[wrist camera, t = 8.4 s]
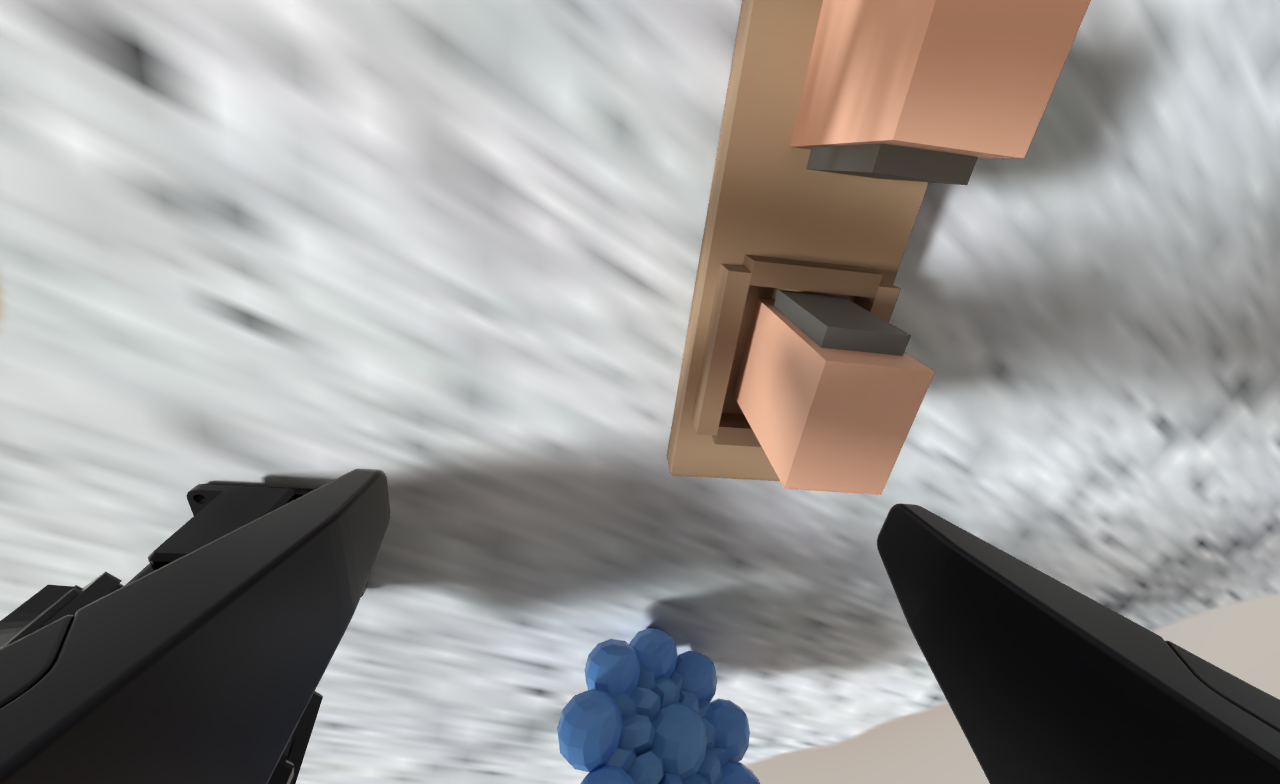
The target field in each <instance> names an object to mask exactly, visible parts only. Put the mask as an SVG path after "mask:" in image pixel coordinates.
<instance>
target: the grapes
mask: <svg viewBox="0 0 1280 784" xmlns="http://www.w3.org/2000/svg"><path fill="white" fill-rule="evenodd" d="M585 676H586V683H587V687H588V691H585V692H583V693H580V694H578V695H575V696H574V697H573V698H572V699H571V700H570V702H569V703H568V704H567V705H566V706H565V708H564V709H563V710H562V713H561V717H560V720H559V724H558V727H557V730H558V738H559V747H560V753H561V754H562V755H563V756H564V758H565V759H566V760H567V761H568V762H569V763H570V764H571V765H572V766H573V767H574V769H577V770H582V771H587V772H590V773H589V774H588V775H587V776H586V777H585V778H584V780H583V781H582V783H581V784H760V782H759V780H758V779H757V777H756V776H755V775H754V774H753V772H752V771H751V770H750V769H748V768H747V767H746V766H744V765H743V764H742V763H739V762H738V761H740V760H742V758H743V756H744V754H745V752H746V750H747V748H748V743H749V734H750V731H749V724H748V719H747V716H746V714H745V712H744V711H743V710H742V709H741V708H740V707H739V706H737V705H736V704H734V703H733V702H731V701H730V700H724V699H717V700H714V701H712V702H710V701H711V699H712V698H713V696H714V695H715V691H716V684H717V676H716V669H715V666H714V663H713V662H712V661H711V660H710V659H709V658H708V657H706V656H705V655H703V654H701V653H699V652H693V651H688V652H685V653H683V654H680V655H678V657H677V649H676V644H675V642H674V640H673V638H672V637H671V636H670V635H669V634H667V633H665V632H664V631H662V630H660V629H653V628H648V629H645V630H643V631H640V632H638V633H637V634H636V636H635V637H634V638H633V639H632V641H631V642H630V644H628V643H627V642H625V641H620V640H614V639H610V640H607V641H604V642H602V643H599V644H598V645H597V646H596V647H595V648H594V649H593V651H592V652H591V653H590V654H589V656H588V660H587V663H586V667H585Z"/></svg>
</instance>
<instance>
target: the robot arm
mask: <svg viewBox="0 0 1280 784" xmlns="http://www.w3.org/2000/svg"><path fill="white" fill-rule="evenodd" d="M187 499H188V502H189V505H190V507H191V510H192V512H193V515H194V517H193V518H191V519H190V520H189V521H188V522H187V523H186V524H185V525H183V526H182V527H181V528H180V529H179V530H178V531H177V532H175V533H174V534H173V535H172V536H171V537H170V538H168V539H167V540H166V541H165V542H164V543H163V544H162V545H160V546H159V547H158V548H157V549H156V550H155V551H154V552H152V553H151V554H150V556H149V557H148V560H149V562H150V564H149V565H148V566H146V567H145V568H144V569H143V570H142V571H141V572H140V573H139V574H137V575H136V576H135V577H134V578H133V579H132V580H131V581H129V582H128V583H127V584H126V585H125V586H123V585H121V584H120V582H121V580H120V579H118V578H116V577H114V576H113V575H111V574H109V573H107V572H105V573H103V574H102V575H100V576H99V577H98V578H96V579H95V580H94V581H92V582H91V583H90V584H88V585H87V586H85V587H84V588H81V587H79V586H77V585H76V586H74V587H70V586H57V585H47V586H46V587H44V588H43V589H42V590H40V591H39V592H38V593H36V594H35V595H34V596H33V597H31V598H30V599H29V600H27V601H26V602H25V603H23V604H22V605H21V606H19V607H18V608H17V609H16V610H14V611H13V612H12V613H10V614H9V615H8V616H6V617H5V618H4V619H2V620H1V621H0V784H295V783H296V780H297V777H298V774H299V770H300V767H301V764H302V761H303V758H304V755H305V752H306V748H307V745H308V742H309V739H310V736H311V733H312V729H313V726H314V723H315V720H316V717H317V714H318V710H319V707H320V704H321V701H322V698H323V696H322V695H321V694H319V693H317V692H316V691H315V689H316V687H317V685H318V683H319V681H320V679H321V678H322V676H323V674H324V672H325V670H326V668H327V666H328V664H329V662H330V660H331V658H332V656H333V654H334V652H335V650H336V648H337V646H338V644H339V642H340V641H341V639H342V637H343V635H344V633H345V631H346V629H347V627H348V625H349V623H350V621H351V618H352V616H353V614H354V612H355V610H356V607H357V605H358V602H359V600H360V597H362V596H363V594H364V592H365V590H366V589H367V584H366V582H367V579H368V576H369V574H370V571H371V569H372V566H373V563H374V561H375V558H376V555H377V553H378V550H379V548H380V545H381V542H382V540H383V537H384V534H385V532H386V529H387V526H388V523H389V519H390V504H389V494H388V485H387V477H386V475H385V473H384V472H383V471H381V470H372V469H355V470H353V471H351V472H349V473H347V474H345V475H343V476H341V477H339V478H337V479H335V480H333V481H331V482H329V483H327V484H325V485H323V486H321V487H319V488H317V489H299V488H277V487H256V486H235V485H213V484H199V485H197V486H195V487H194V488H193V489H192V490H190V491H189V492H188V494H187ZM877 547H878V551H879V553H880V556H881V558H882V561H883V563H884V566H885V568H886V571H887V573H888V576H889V578H890V581H891V583H892V585H893V588H894V590H895V593H896V595H897V598H898V600H899V603H900V605H901V608H902V610H903V612H904V615H905V617H906V620H907V622H908V624H909V626H910V629H911V631H912V633H913V635H914V637H915V639H916V641H917V643H918V645H919V647H920V649H921V651H922V653H923V655H924V657H925V658H926V660H927V662H928V664H929V666H930V668H931V670H932V672H933V674H934V676H935V678H936V680H937V682H938V684H939V686H940V688H941V689H942V691H943V693H944V695H945V697H946V699H947V701H948V703H949V705H950V707H951V709H952V711H953V713H954V715H955V716H956V719H957V720H958V722H959V724H960V726H961V728H962V730H963V732H964V734H965V736H966V738H967V740H968V742H969V744H970V746H971V748H972V750H973V752H974V753H975V755H976V757H977V759H978V761H979V763H980V765H981V767H982V769H983V771H984V773H985V775H986V777H987V779H988V781H989V783H990V784H1280V700H1279V699H1277V698H1275V697H1273V696H1271V695H1270V694H1267V693H1266V692H1264V691H1262V690H1260V689H1258V688H1256V687H1254V686H1252V685H1250V684H1248V683H1246V682H1245V681H1243V680H1241V679H1239V678H1237V677H1235V676H1233V675H1231V674H1230V673H1228V672H1226V671H1224V670H1222V669H1220V668H1218V667H1216V666H1215V665H1213V664H1211V663H1209V662H1207V661H1205V660H1203V659H1201V658H1200V657H1198V656H1196V655H1194V654H1192V653H1190V652H1188V651H1187V650H1185V649H1183V648H1181V647H1179V646H1177V645H1176V644H1174V643H1172V642H1170V641H1164V640H1163V638H1162V637H1160V636H1159V635H1157V634H1155V633H1153V632H1151V631H1150V630H1148V629H1146V628H1144V627H1142V626H1140V625H1138V624H1137V623H1135V622H1133V621H1131V620H1129V619H1127V618H1126V617H1124V616H1122V615H1120V614H1118V613H1116V612H1114V611H1113V610H1111V609H1109V608H1107V607H1105V606H1103V605H1102V604H1100V603H1098V602H1096V601H1094V600H1092V599H1090V598H1089V597H1087V596H1085V595H1083V594H1081V593H1079V592H1078V591H1076V590H1074V589H1072V588H1070V587H1068V586H1066V585H1065V584H1063V583H1061V582H1059V581H1057V580H1055V579H1054V578H1052V577H1050V576H1048V575H1046V574H1044V573H1043V572H1041V571H1039V570H1037V569H1035V568H1033V567H1031V566H1030V565H1028V564H1026V563H1024V562H1022V561H1020V560H1019V559H1017V558H1015V557H1013V556H1011V555H1009V554H1007V553H1006V552H1004V551H1002V550H1000V549H998V548H996V547H995V546H993V545H991V544H989V543H987V542H985V541H983V540H982V539H980V538H978V537H976V536H974V535H972V534H971V533H969V532H967V531H965V530H963V529H961V528H959V527H958V526H956V525H954V524H952V523H950V522H948V521H947V520H945V519H943V518H941V517H939V516H937V515H936V514H934V513H932V512H930V511H928V510H926V509H924V508H923V507H921V506H918V505H912V504H896V505H894V506H893V507H892V508H891V509H890V511H889V513H888V515H887V518H886V520H885V522H884V524H883V526H882V529H881V531H880V533H879V535H878V539H877Z"/></svg>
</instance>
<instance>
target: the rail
mask: <svg viewBox="0 0 1280 784" xmlns="http://www.w3.org/2000/svg"><path fill="white" fill-rule="evenodd" d="M1090 1H1091V0H742V6H741V12H740V18H739V24H738V30H737V36H736V42H735V48H734V54H733V60H732V66H731V72H730V78H729V84H728V90H727V96H726V102H725V108H724V114H723V121H722V127H721V133H720V139H719V145H718V151H717V157H716V163H715V169H714V175H713V181H712V187H711V193H710V199H709V205H708V211H707V217H706V223H705V229H704V235H703V241H702V247H701V253H700V259H699V265H698V271H697V277H696V283H695V289H694V295H693V301H692V307H691V313H690V319H689V325H688V331H687V337H686V343H685V349H684V355H683V361H682V367H681V373H680V380H679V386H678V392H677V398H676V404H675V410H674V416H673V422H672V428H671V434H670V440H669V446H668V452H667V459H668V464H669V468H670V473H671V475H677V476H695V477H714V478H732V479H751V480H769V481H780V479H779V478H778V476H777V474H776V472H775V470H774V468H773V467H772V465H771V463H770V461H769V459H768V457H767V456H766V454H765V452H764V450H763V448H762V446H761V445H760V443H759V441H758V439H757V437H756V435H755V434H754V432H753V430H752V428H751V426H750V424H749V423H748V421H747V419H746V417H745V415H744V414H743V412H742V410H741V408H740V406H739V404H738V403H737V401H736V399H735V397H734V391H735V387H736V383H737V379H738V374H739V370H740V366H741V362H742V358H743V354H744V350H745V345H746V341H747V337H748V333H749V329H750V325H751V321H752V316H753V312H754V308H755V304H756V300H757V298H762V299H771V300H775V299H776V295H777V291H778V289H779V290H788V291H796V292H805V293H813V294H822V295H830V296H839V297H845V298H846V299H848V300H850V301H852V302H853V303H855V304H857V305H859V306H860V307H862V308H864V309H865V310H867V311H869V312H871V313H872V314H874V315H876V316H878V317H879V318H881V319H883V320H885V321H886V322H888V323H889V320H890V317H891V315H892V312H893V309H894V306H895V303H896V301H897V298H898V295H899V292H900V290H901V289H900V288H898V287H896V286H893V283H894V280H895V277H896V274H897V271H898V268H899V266H900V263H901V260H902V257H903V254H904V251H905V248H906V246H907V243H908V240H909V237H910V234H911V231H912V228H913V226H914V223H915V220H916V217H917V214H918V211H919V208H920V205H921V203H922V200H923V197H924V194H925V191H926V188H927V185H928V183H929V182H932V183H946V184H960V185H967V184H968V181H969V179H970V176H971V174H972V171H973V168H974V166H975V163H976V160H977V159H997V158H1024V157H1025V155H1026V153H1027V150H1028V148H1029V146H1030V143H1031V141H1032V138H1033V136H1034V134H1035V131H1036V129H1037V127H1038V124H1039V122H1040V119H1041V117H1042V115H1043V112H1044V110H1045V108H1046V105H1047V103H1048V100H1049V98H1050V96H1051V93H1052V91H1053V89H1054V86H1055V84H1056V82H1057V79H1058V77H1059V74H1060V72H1061V70H1062V67H1063V65H1064V63H1065V60H1066V58H1067V55H1068V53H1069V51H1070V48H1071V46H1072V44H1073V41H1074V39H1075V37H1076V34H1077V32H1078V29H1079V27H1080V25H1081V22H1082V20H1083V18H1084V15H1085V13H1086V10H1087V8H1088V6H1089V3H1090Z"/></svg>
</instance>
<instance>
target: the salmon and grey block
mask: <svg viewBox="0 0 1280 784" xmlns="http://www.w3.org/2000/svg"><path fill="white" fill-rule="evenodd" d="M910 336H911V335H909V334H907V333H905V332H904V331H902V330H900V329H898V328H897V327H895V326H893V325H892V324H890V323H888V322H886V321H885V320H883V319H881V318H879V317H878V316H876V315H874V314H872V313H871V312H869V311H867V310H865V309H864V308H862V307H860V306H859V305H857V304H855V303H853V302H852V301H850V300H848V299H846V298H845V297H839V296H830V295H822V294H813V293H805V292H796V291H788V290H779V289H778V291H777V295H776V299H775V300H771V299H762V298H757V300H756V304H755V308H754V312H753V316H752V321H751V325H750V329H749V333H748V337H747V341H746V345H745V350H744V354H743V358H742V362H741V366H740V370H739V374H738V379H737V383H736V387H735V391H734V397H735V399H736V401H737V403H738V404H739V406H740V408H741V410H742V412H743V414H744V415H745V417H746V419H747V421H748V423H749V424H750V426H751V428H752V430H753V432H754V434H755V435H756V437H757V439H758V441H759V443H760V445H761V446H762V448H763V450H764V452H765V454H766V456H767V457H768V459H769V461H770V463H771V465H772V467H773V468H774V470H775V472H776V474H777V476H778V478H779V479H780V481H781V483H782V485H783V487H784V488H785V489H800V490H815V491H831V492H846V493H861V494H877V495H881V494H882V492H883V489H884V487H885V485H886V483H887V480H888V478H889V476H890V473H891V471H892V469H893V467H894V464H895V462H896V460H897V457H898V455H899V453H900V451H901V448H902V446H903V444H904V442H905V439H906V437H907V435H908V432H909V430H910V428H911V426H912V423H913V421H914V419H915V417H916V414H917V412H918V410H919V407H920V405H921V403H922V401H923V398H924V396H925V394H926V391H927V389H928V387H929V385H930V382H931V380H932V378H933V376H934V373H935V371H934V370H932V369H930V368H929V367H927V366H926V365H924V364H923V363H921V362H920V361H918V360H916V359H915V358H913V357H912V356H910V355H909V354H907V353H906V352H904V351H905V349H906V346H907V344H908V341H909V339H910Z"/></svg>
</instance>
